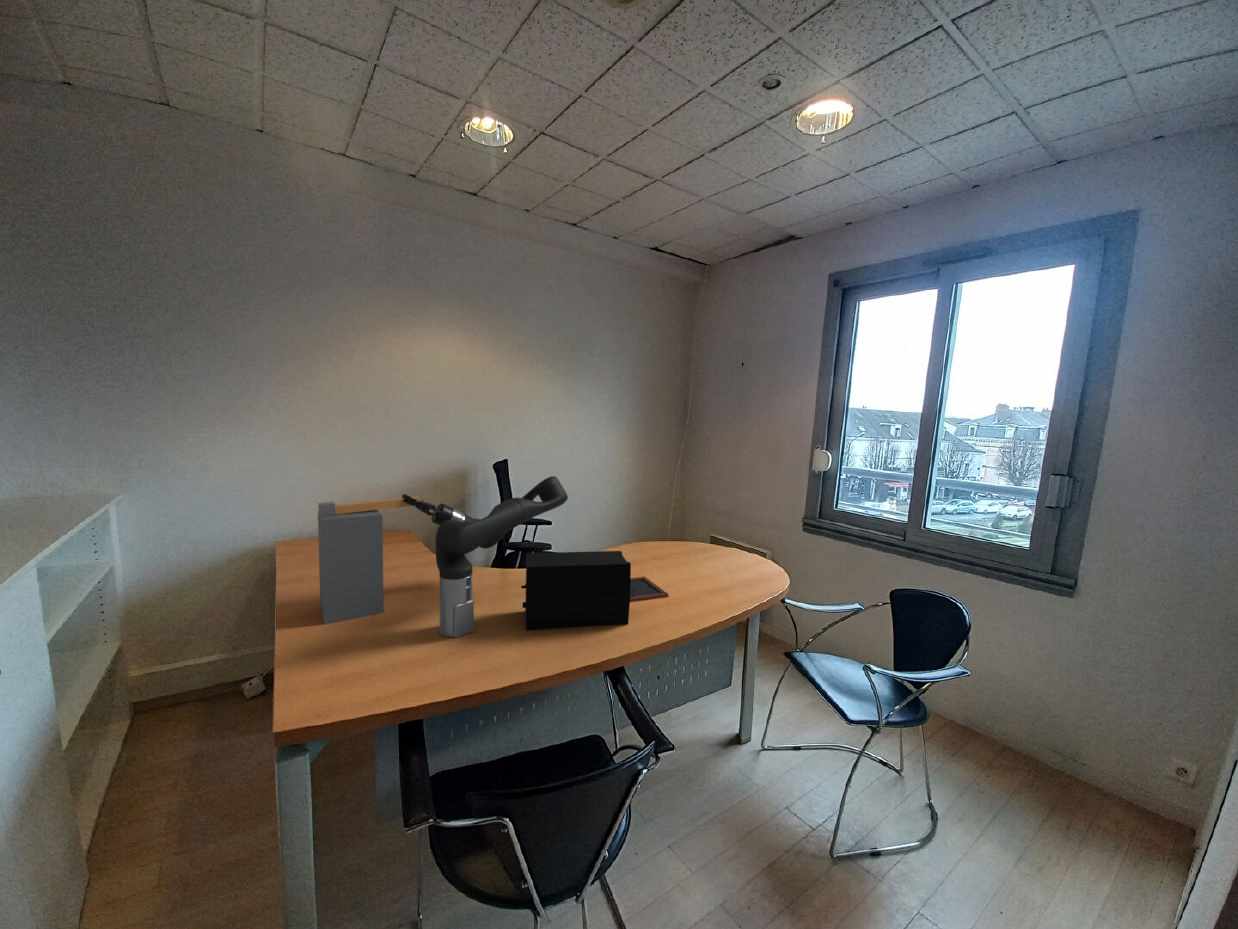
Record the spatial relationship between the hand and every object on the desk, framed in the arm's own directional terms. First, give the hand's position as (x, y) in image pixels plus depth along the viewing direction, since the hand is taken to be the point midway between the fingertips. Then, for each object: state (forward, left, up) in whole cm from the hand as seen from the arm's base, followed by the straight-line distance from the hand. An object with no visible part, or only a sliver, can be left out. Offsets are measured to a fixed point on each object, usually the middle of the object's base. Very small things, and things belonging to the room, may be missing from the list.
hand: (403, 497), depth 153 cm
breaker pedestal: (+4, +15, -36) cm, 39 cm away
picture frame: (-52, -60, -37) cm, 87 cm away
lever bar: (+2, +9, -3) cm, 10 cm away
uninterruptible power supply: (-53, -29, -36) cm, 70 cm away
